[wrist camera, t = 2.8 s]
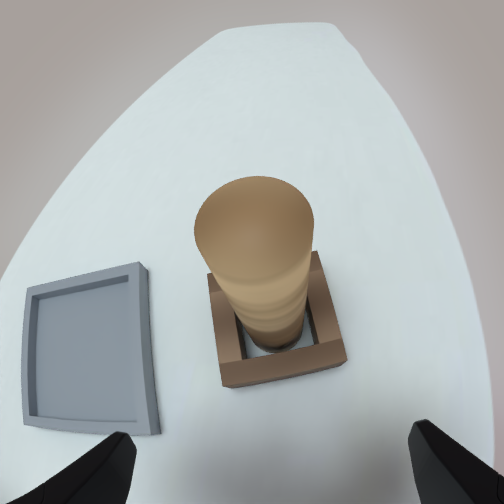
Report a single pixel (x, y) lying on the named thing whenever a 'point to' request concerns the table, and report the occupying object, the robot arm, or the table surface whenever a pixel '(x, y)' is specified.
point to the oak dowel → (260, 255)
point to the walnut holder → (285, 363)
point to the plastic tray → (90, 354)
